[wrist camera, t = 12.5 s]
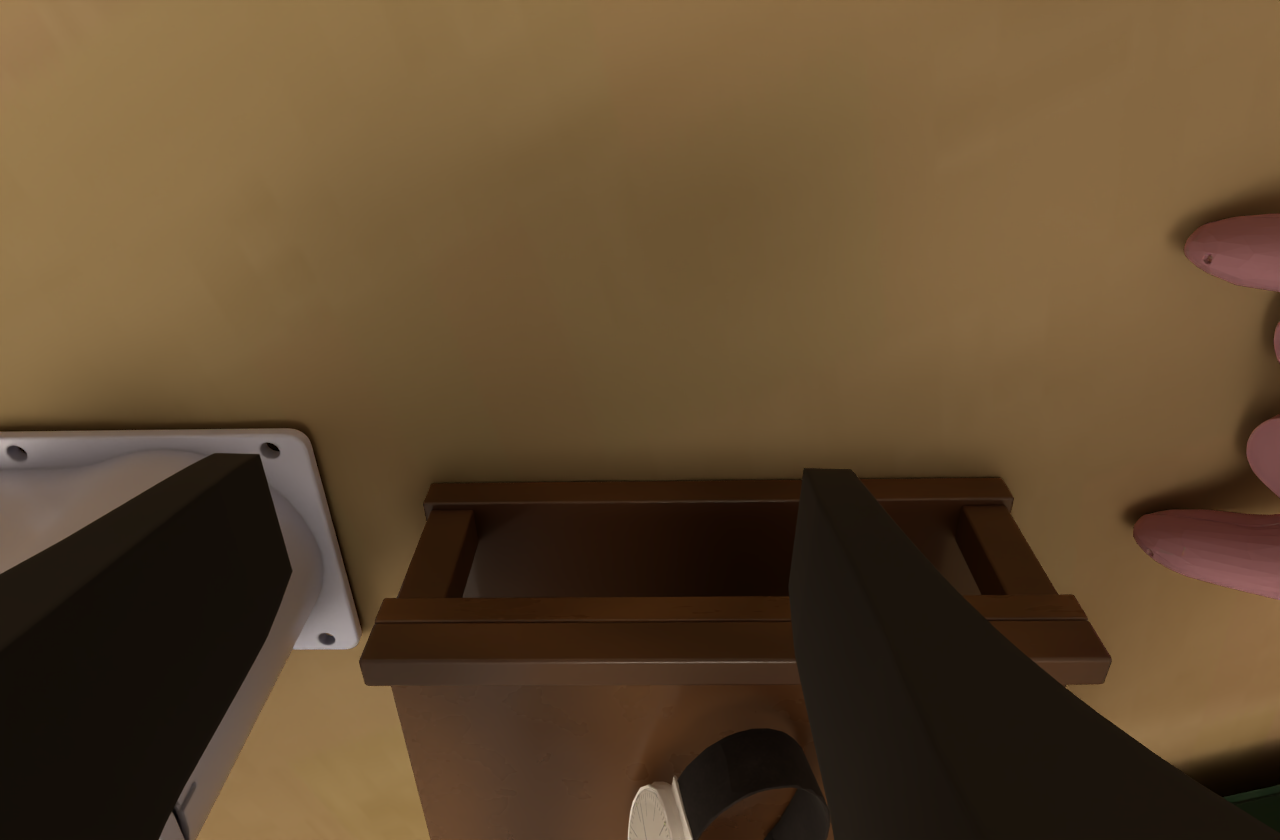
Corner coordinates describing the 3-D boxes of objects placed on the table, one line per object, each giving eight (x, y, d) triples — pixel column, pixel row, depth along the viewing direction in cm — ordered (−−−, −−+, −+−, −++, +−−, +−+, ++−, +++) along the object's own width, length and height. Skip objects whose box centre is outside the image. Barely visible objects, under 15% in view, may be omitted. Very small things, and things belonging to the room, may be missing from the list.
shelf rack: (482, 758, 30) (440, 957, 24) (430, 482, 24) (357, 661, 18) (935, 758, 29) (1002, 963, 24) (1002, 476, 23) (1114, 659, 17)
